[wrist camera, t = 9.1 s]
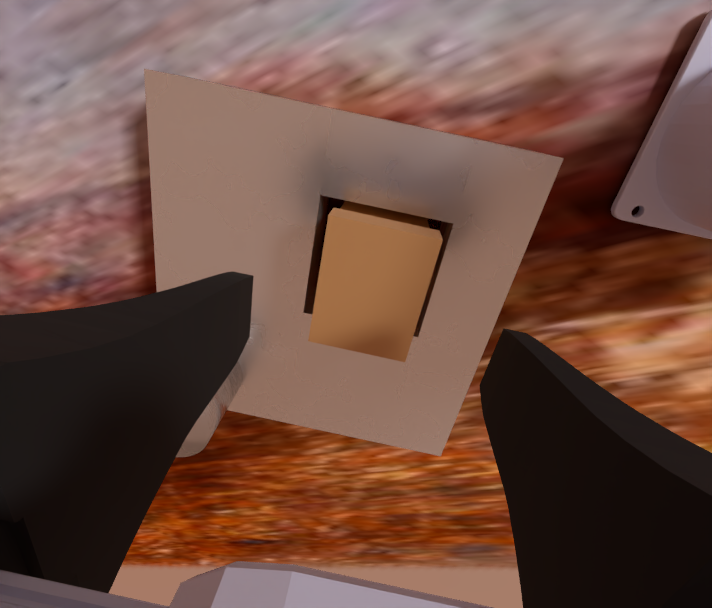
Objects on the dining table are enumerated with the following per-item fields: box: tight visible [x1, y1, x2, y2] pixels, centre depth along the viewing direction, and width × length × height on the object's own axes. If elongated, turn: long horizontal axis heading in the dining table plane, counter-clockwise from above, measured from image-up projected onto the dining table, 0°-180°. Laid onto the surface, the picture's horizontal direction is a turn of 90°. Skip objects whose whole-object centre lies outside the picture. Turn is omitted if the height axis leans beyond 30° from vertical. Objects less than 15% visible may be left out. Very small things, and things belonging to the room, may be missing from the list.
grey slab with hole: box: [144, 69, 564, 457], centre depth 17 cm, size 16×16×7 cm
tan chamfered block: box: [308, 200, 443, 362], centre depth 17 cm, size 4×5×6 cm
